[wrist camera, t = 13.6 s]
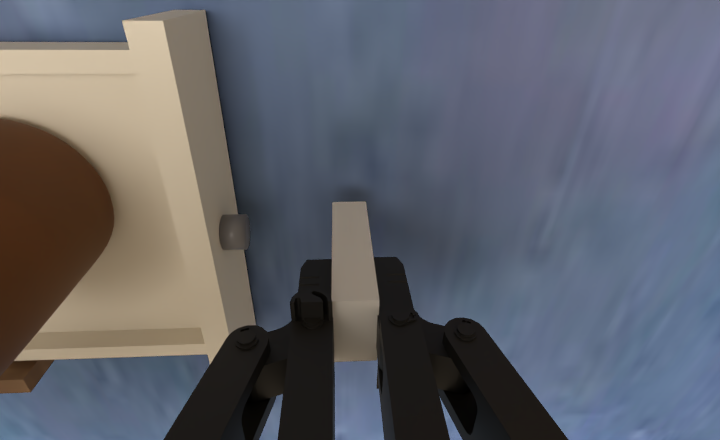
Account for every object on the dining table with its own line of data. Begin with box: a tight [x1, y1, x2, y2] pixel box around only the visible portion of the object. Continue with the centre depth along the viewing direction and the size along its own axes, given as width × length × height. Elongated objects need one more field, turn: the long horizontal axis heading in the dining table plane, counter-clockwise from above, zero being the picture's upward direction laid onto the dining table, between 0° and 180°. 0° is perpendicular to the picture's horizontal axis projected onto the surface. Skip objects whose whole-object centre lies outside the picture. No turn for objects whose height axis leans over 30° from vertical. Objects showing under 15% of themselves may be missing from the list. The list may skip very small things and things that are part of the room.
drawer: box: [0, 10, 256, 364], centre depth 19 cm, size 18×18×5 cm
